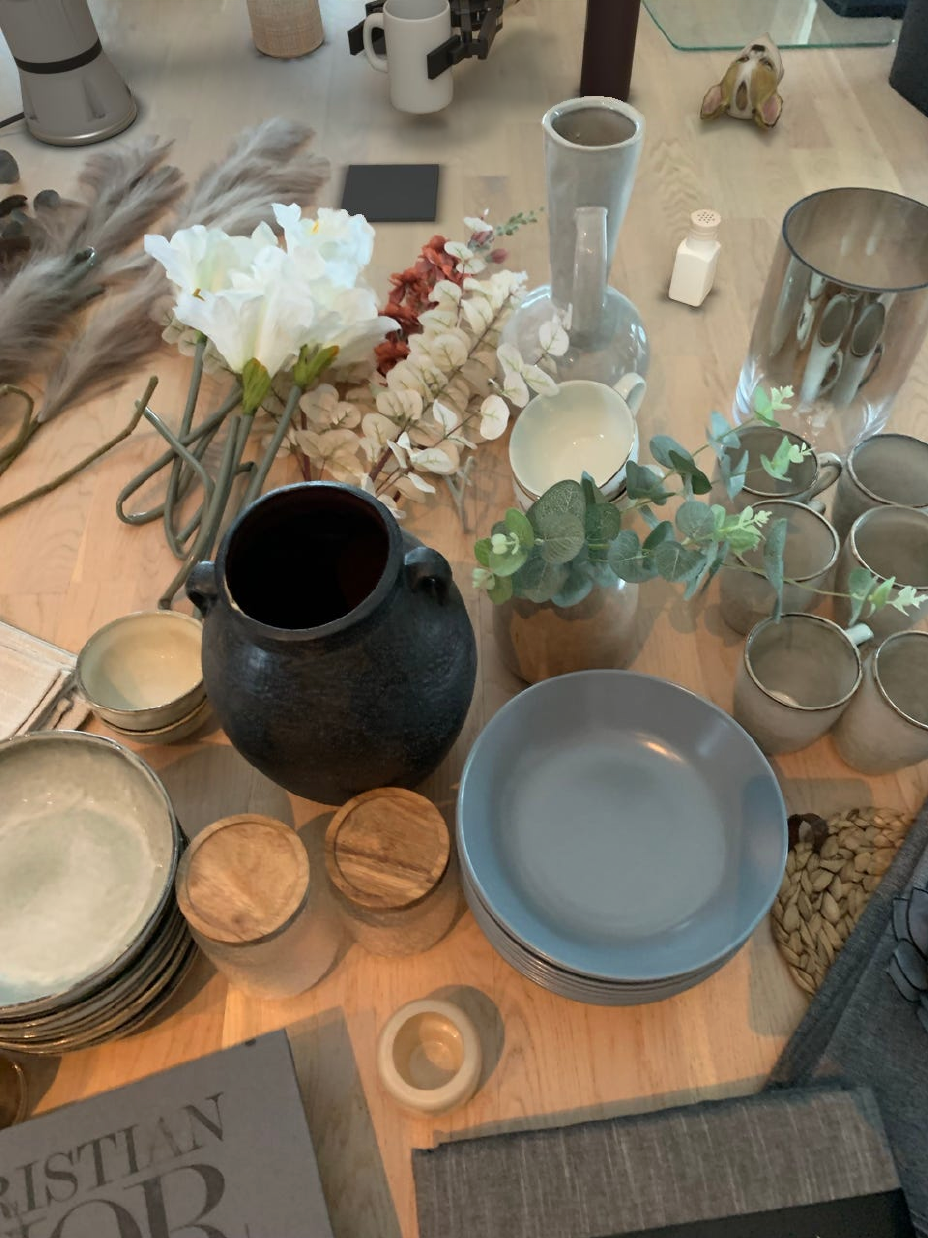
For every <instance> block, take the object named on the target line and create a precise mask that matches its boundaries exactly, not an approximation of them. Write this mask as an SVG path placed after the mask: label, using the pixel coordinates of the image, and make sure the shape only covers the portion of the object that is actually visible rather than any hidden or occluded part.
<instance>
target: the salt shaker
mask: <svg viewBox="0 0 928 1238" xmlns="http://www.w3.org/2000/svg"><path fill="white" fill-rule="evenodd" d="M689 219H690V220H689V225H688V229H687V235H686V236H685V237H684V239H683V240H682V241H681V243H680V244H679V246H678V247H677V250H676V254H675V259H674V263H673V269H672V274H671V279H670V283H669V284H670V285H669V287H668V297H669V298H670V299H671V300H674V301H677V302H680V303H684V304H686V305H690V306H692V307H700V305H702V303H703V301H705V299H706V297H707V295H708V294H709V293H710V291H711V290H712V288H713V282H714V279H715V275H716V270H717V267H718V263H719V259H720V254H721V251H722V244H721V243H720V242H719V241H718V240H717V238H718V236H719V230H720V226H721V221H722V217H721V215H720V214H719V212H716V211H714V210H713V209H708V208H707V209H706V208H703V209H697V210H695V211H693V212H692V213H691V215H690V218H689Z"/></svg>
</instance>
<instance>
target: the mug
mask: <svg viewBox="0 0 928 1238" xmlns="http://www.w3.org/2000/svg"><path fill="white" fill-rule="evenodd" d="M365 19H366V20H365V23H364V28H363V43H364V50H363V51H364V53H365V57H366V60H367V62H368V64H369V65H370V67H371V68H372V69H374V70H375V71H377V72H380V73H384V74H387V75H388V86H389V98H390V101H391V104H392V105H393V106H394V107H395V108H396V109H398V110H399V111H402V112H405V113H408V114H416V115H425V114H431V113H435V112H439V111H441V110H444V109H445V108H447V107H448V106H449V105H450V104H451V102H452V101H453V99H454V79H453V78H454V77H453V76H454V75H453V65H452V66H451V67H450V68H448V69H447V70H446V71H444V72H443V73H442V74H440V75H439V76H438V77H436V78H435V79H434V80H431V79H428V69H427V55H428V54H429V53H430V52H432V51H433V50H435V49H436V48H437V47H439V46H440V45H441V44H443V43H444V42H446V41H447V40H448V39H450V38H451V37H452V27H451V19H450V4H449V2H448V0H387V1H386V2H385V4H384V6H383V13H373V14H371V15H369V16H368V17H367V18H366V17H365ZM374 27H379V28H381V29H383V30H384V32H385V41H386V51H387V54H386V58H381V57H379V56H378V54H375V52H374V49H373V46H372V39H371V32H372V29H373V28H374Z"/></svg>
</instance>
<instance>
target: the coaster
mask: <svg viewBox="0 0 928 1238" xmlns="http://www.w3.org/2000/svg"><path fill="white" fill-rule="evenodd" d="M439 166H440V165H439V164H438V163H432V164H431V163H419V164H418V163H417V164H416V163H415V164H414V163H413V164H412V163H411V164H409V163H408V164H349V165H348V167H347V172H346V173H347V175H346V179H345V184H344V190H343V197H342V200H341V201H342V202H341V206H340V210H341V209H346V210H347V211H348V214H349V215H350V216H354V215H356V214H362V215H364V217H365V218H366V220H367V222H435V221H436V209H437V195H438V184H439V170H440V167H439Z"/></svg>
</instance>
